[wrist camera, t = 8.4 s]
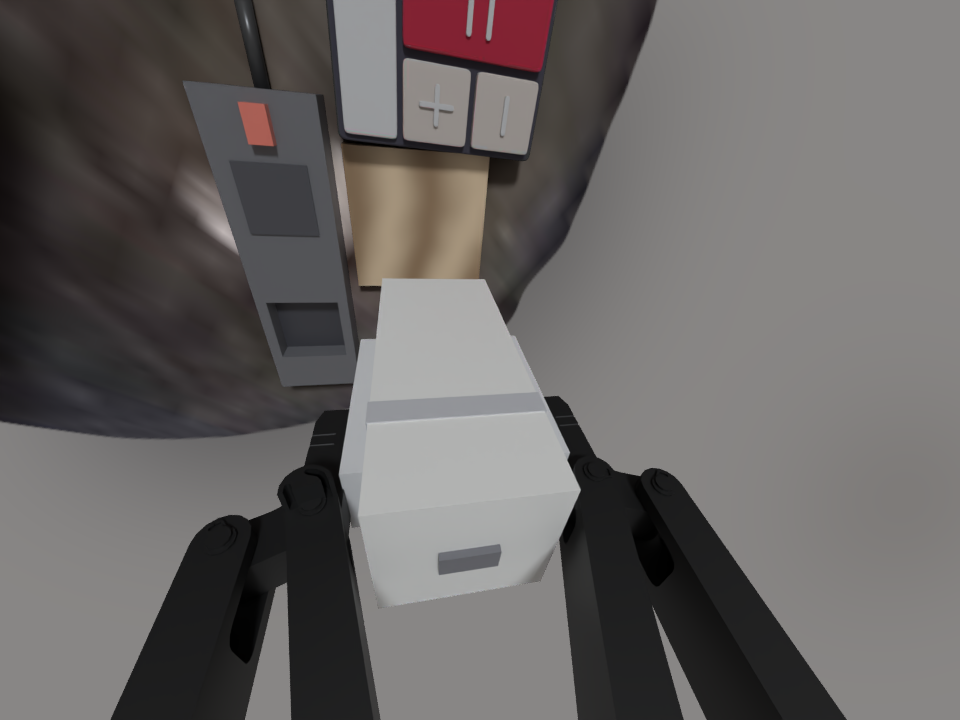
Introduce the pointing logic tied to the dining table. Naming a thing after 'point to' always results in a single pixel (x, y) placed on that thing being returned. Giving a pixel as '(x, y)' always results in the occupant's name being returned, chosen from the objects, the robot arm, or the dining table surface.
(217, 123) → the grey handheld radio
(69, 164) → the dining table surface
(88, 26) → the dining table surface
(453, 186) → the wooden board
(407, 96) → the calculator
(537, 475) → the block
